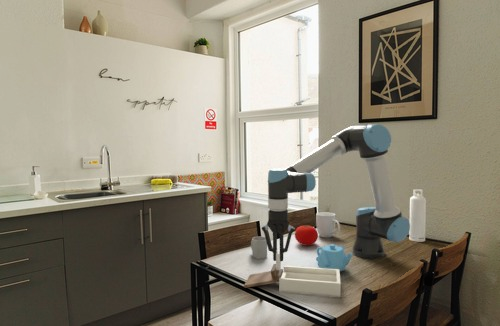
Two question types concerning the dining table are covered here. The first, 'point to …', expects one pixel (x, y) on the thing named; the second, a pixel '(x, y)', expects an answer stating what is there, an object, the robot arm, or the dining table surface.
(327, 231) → the mug
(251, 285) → the cover plate
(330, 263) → the teapot
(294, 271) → the lid box
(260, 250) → the cup
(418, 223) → the bottle
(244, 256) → the dining table surface
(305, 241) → the tomato
